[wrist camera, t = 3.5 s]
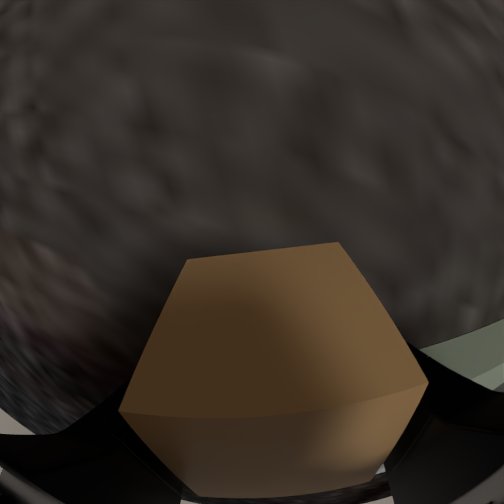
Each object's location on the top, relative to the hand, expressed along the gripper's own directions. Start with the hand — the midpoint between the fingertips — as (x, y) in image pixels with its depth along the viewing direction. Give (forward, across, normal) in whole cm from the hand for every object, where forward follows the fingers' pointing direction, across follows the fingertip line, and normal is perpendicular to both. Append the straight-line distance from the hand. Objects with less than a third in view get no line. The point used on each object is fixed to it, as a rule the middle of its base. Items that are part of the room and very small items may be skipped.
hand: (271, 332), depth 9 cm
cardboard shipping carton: (+1, 0, 0) cm, 1 cm away
